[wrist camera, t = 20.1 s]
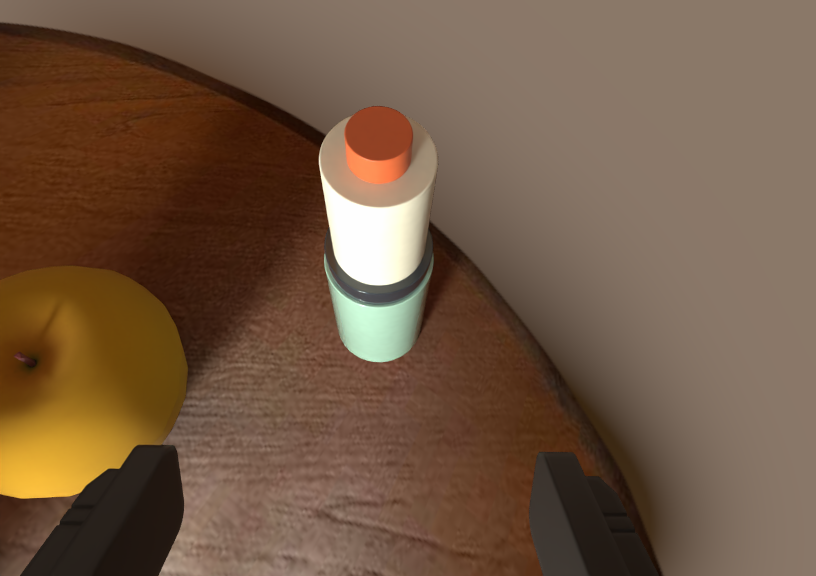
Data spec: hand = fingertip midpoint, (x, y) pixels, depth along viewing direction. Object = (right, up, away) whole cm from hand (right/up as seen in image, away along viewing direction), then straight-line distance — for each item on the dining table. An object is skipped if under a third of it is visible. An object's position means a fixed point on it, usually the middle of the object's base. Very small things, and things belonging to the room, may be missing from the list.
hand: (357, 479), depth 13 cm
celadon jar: (-1, +2, +28) cm, 28 cm away
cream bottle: (0, +7, +17) cm, 18 cm away
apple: (-18, -3, +25) cm, 31 cm away
